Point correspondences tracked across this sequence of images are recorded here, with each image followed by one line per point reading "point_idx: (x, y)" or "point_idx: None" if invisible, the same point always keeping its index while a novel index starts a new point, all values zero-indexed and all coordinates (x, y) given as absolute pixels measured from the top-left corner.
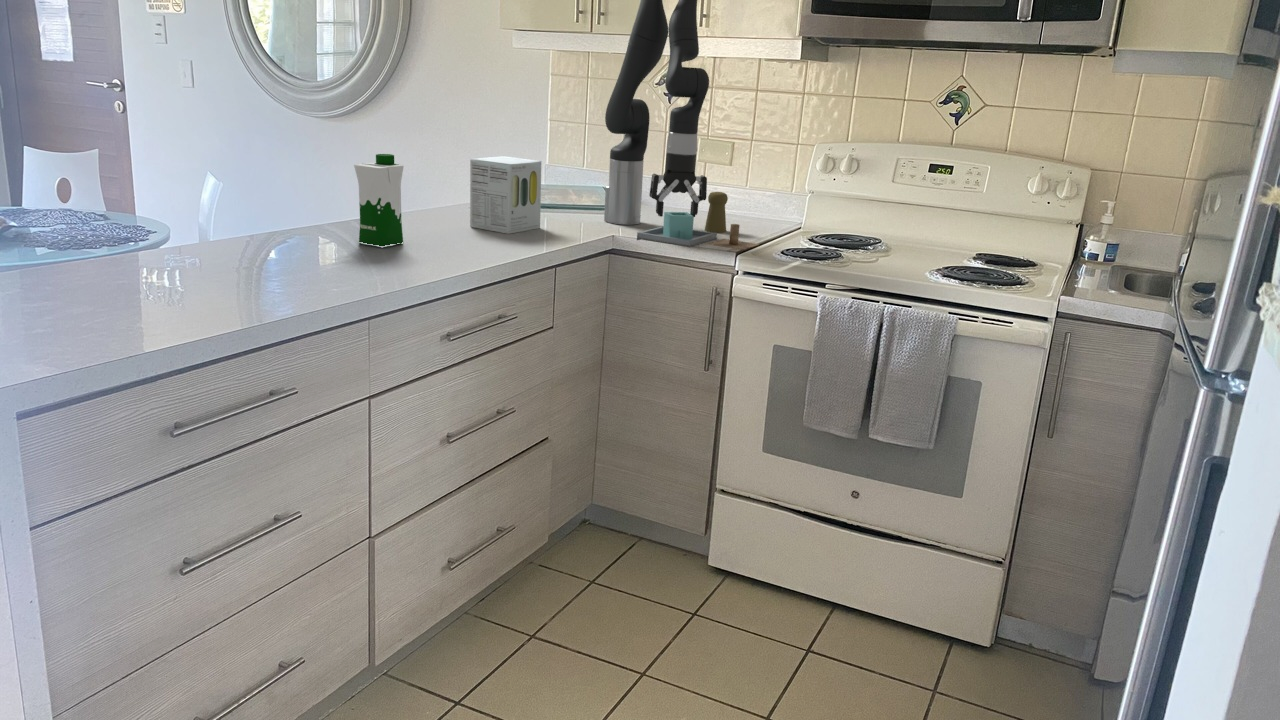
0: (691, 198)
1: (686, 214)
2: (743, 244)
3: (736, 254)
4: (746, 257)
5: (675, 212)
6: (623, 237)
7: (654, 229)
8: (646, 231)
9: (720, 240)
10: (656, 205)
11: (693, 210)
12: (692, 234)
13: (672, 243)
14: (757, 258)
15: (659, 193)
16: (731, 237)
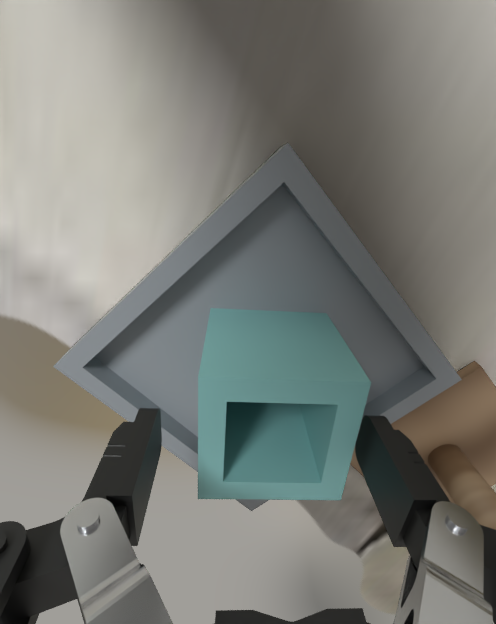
0: (428, 526)
1: (328, 445)
2: (477, 462)
3: (370, 538)
4: (377, 564)
5: (278, 392)
6: (9, 273)
7: (167, 285)
8: (108, 339)
9: (437, 400)
10: (97, 474)
11: (373, 489)
12: (373, 300)
13: None
14: (400, 572)
15: (74, 583)
16: (444, 486)
